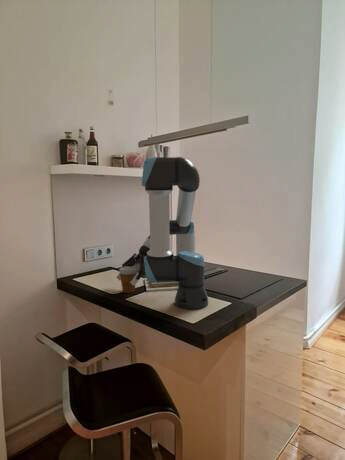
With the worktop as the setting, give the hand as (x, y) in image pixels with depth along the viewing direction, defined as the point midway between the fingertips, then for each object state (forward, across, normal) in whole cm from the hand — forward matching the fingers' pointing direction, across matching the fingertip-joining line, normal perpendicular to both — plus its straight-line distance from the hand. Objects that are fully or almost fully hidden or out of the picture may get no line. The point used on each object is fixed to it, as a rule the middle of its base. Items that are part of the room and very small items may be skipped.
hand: (124, 281), depth 158 cm
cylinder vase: (-36, +16, -44) cm, 59 cm away
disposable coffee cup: (+2, 0, -5) cm, 6 cm away
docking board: (-13, -4, -20) cm, 24 cm away
